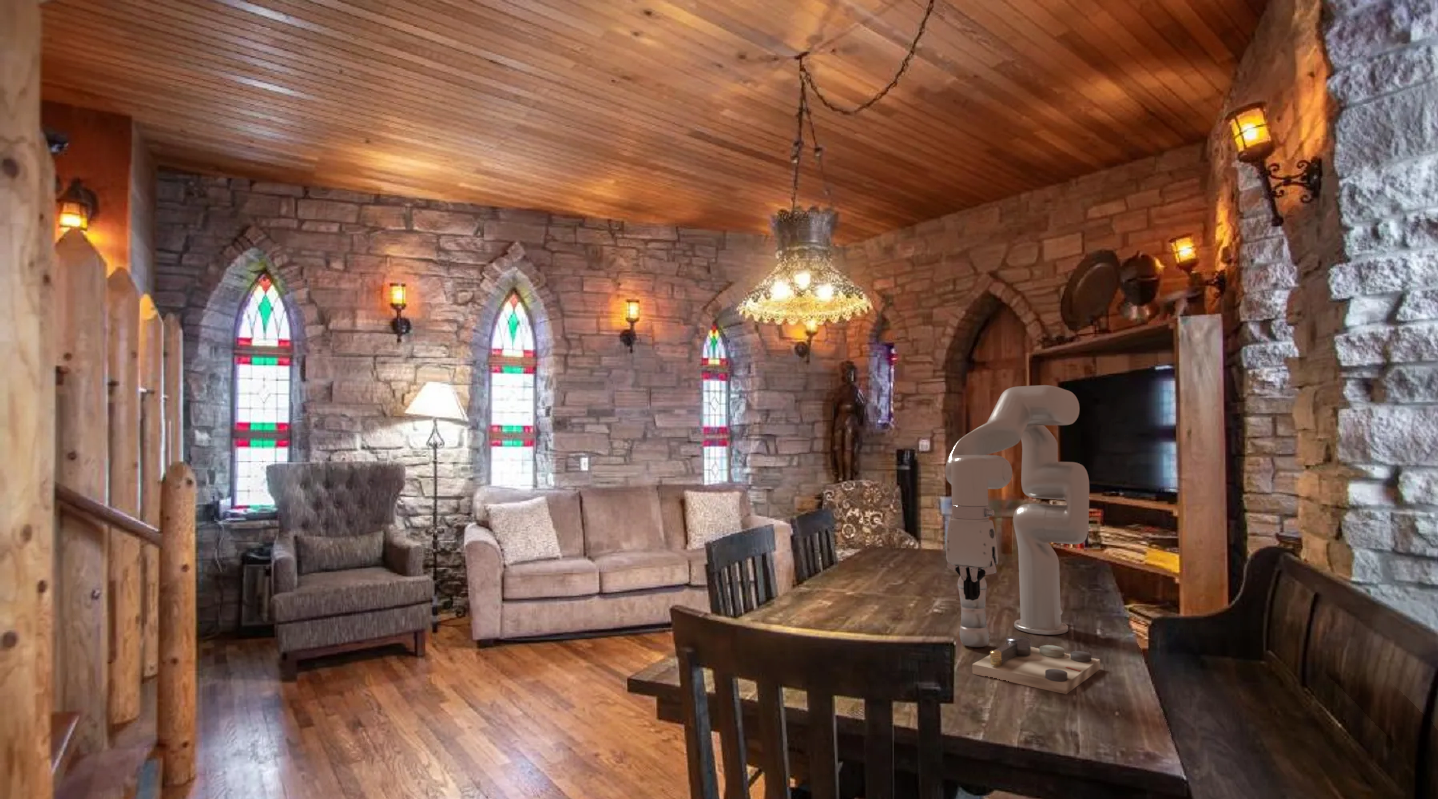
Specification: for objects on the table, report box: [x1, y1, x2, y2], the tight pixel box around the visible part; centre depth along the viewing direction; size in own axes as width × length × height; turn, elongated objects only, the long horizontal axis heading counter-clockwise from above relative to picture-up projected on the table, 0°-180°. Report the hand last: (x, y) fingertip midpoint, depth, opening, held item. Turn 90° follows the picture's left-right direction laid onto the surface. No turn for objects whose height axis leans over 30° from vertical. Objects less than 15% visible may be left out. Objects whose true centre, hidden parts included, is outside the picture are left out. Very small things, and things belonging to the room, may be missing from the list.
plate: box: [971, 644, 1101, 695], centre depth 161 cm, size 20×19×3 cm
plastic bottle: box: [957, 567, 990, 648], centre depth 181 cm, size 6×7×20 cm
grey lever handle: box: [989, 635, 1032, 666], centre depth 163 cm, size 15×5×3 cm, turn 136°
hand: (972, 598), depth 165 cm, fingers closed
